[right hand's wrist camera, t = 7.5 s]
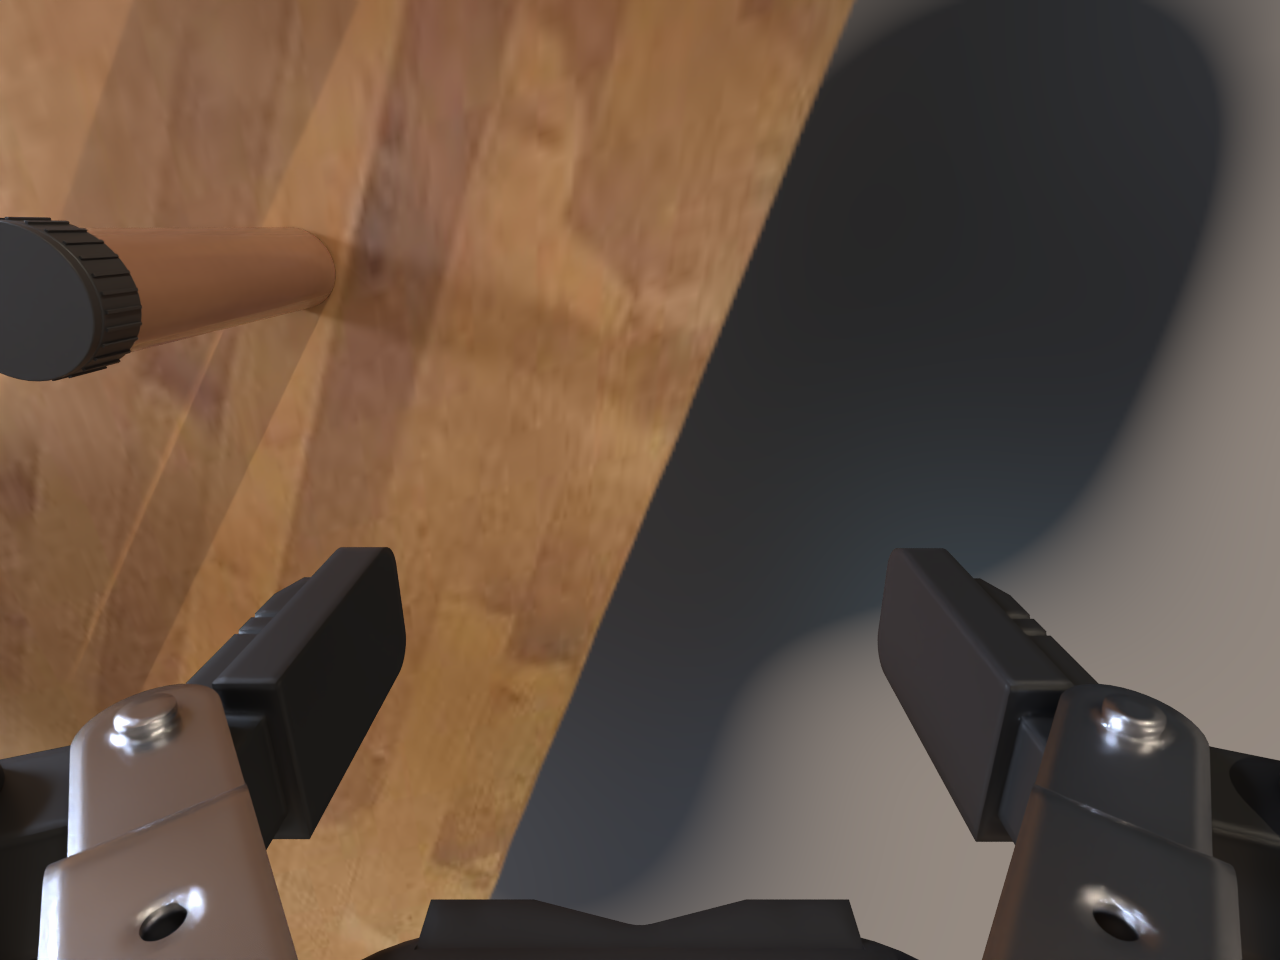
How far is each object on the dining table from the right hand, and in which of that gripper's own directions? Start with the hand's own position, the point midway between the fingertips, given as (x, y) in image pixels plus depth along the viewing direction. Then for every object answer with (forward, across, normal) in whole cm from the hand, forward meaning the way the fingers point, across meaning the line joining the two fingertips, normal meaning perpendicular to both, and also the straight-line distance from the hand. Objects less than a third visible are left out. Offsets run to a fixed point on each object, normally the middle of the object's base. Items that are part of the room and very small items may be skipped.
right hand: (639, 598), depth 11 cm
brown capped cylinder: (+29, +19, -4) cm, 35 cm away
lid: (+12, +19, -4) cm, 22 cm away
